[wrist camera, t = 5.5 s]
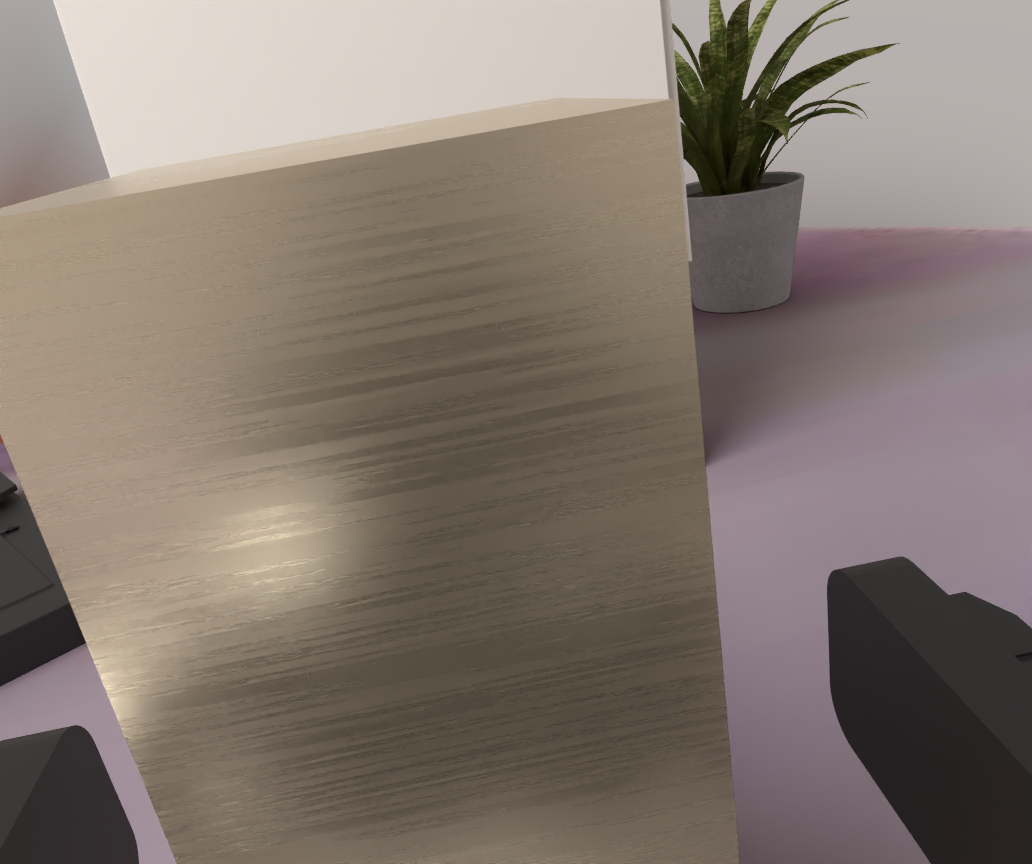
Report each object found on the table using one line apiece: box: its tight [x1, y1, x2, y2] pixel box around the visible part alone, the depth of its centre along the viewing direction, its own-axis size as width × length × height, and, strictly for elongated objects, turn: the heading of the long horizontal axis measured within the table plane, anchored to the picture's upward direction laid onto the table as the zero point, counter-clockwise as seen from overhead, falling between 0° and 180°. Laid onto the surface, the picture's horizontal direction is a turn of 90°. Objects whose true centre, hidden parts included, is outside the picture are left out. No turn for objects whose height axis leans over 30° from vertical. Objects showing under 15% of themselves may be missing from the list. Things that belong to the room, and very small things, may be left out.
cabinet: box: [53, 0, 692, 261], centre depth 30 cm, size 18×11×21 cm, turn 97°
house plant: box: [672, 0, 895, 313], centre depth 44 cm, size 14×14×16 cm
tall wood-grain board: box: [0, 98, 740, 864], centre depth 16 cm, size 4×20×13 cm, turn 7°
